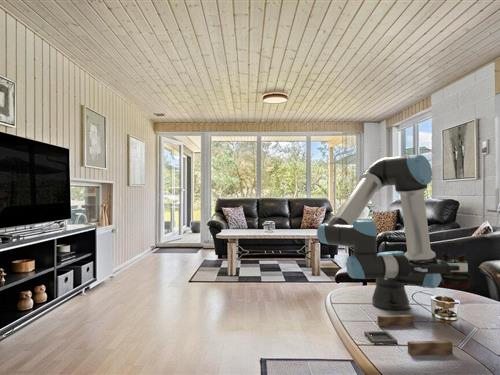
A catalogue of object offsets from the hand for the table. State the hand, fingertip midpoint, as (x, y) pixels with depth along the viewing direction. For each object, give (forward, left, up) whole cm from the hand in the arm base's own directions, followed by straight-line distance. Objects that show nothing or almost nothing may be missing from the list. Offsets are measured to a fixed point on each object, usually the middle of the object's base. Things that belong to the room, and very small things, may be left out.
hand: (461, 265), depth 121 cm
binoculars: (0, -4, -7) cm, 8 cm away
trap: (-14, -25, -24) cm, 37 cm away
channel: (-9, -15, -24) cm, 30 cm away
